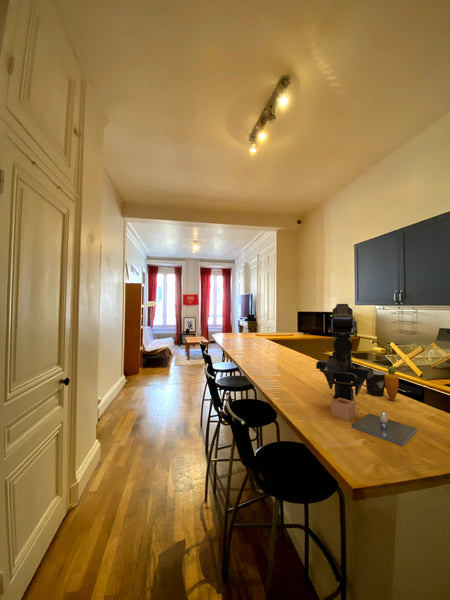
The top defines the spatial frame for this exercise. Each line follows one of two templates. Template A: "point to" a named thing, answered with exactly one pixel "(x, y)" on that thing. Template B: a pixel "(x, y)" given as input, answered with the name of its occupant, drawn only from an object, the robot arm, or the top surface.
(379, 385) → the coffee mug
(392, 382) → the carrot
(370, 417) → the pin plate
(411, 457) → the top surface
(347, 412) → the socket block
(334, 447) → the top surface
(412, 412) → the top surface
